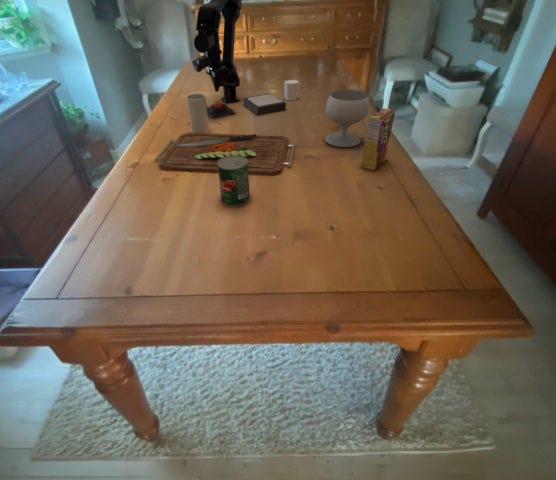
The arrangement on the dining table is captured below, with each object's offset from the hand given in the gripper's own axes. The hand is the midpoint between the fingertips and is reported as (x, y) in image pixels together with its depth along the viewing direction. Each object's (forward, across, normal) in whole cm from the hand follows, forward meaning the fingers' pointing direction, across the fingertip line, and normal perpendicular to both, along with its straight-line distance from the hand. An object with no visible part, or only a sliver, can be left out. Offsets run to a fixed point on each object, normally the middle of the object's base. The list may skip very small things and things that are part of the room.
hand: (216, 91), depth 142 cm
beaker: (+8, +18, -14) cm, 24 cm away
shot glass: (+8, 0, +35) cm, 36 cm away
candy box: (+9, +69, +26) cm, 74 cm away
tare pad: (+8, 0, 0) cm, 8 cm away
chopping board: (+8, +40, -12) cm, 43 cm away
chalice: (+8, +50, +28) cm, 58 cm away
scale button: (+6, 0, 0) cm, 6 cm away
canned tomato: (+9, +68, -20) cm, 71 cm away
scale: (+8, +5, +19) cm, 21 cm away
